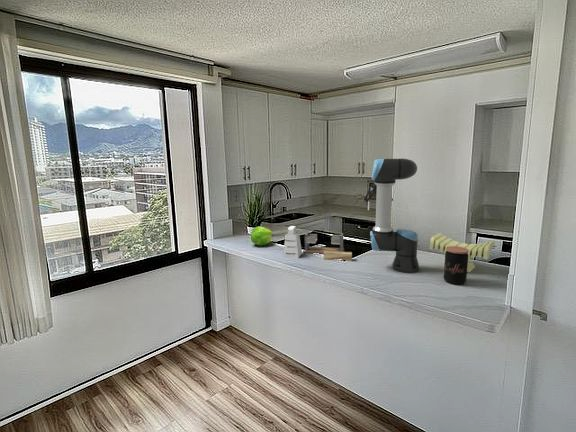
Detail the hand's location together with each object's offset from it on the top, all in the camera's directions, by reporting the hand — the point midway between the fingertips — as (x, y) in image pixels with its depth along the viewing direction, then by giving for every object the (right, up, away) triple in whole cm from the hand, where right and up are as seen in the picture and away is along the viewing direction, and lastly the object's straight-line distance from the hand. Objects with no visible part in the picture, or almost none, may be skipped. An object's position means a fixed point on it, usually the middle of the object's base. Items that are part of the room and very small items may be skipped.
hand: (378, 210), depth 234 cm
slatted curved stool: (+36, -35, -43) cm, 66 cm away
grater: (-62, -31, -13) cm, 71 cm away
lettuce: (-85, -26, +15) cm, 90 cm away
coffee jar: (+23, -39, -63) cm, 78 cm away
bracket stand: (-40, -29, -6) cm, 50 cm away
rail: (-33, -33, -23) cm, 52 cm away
